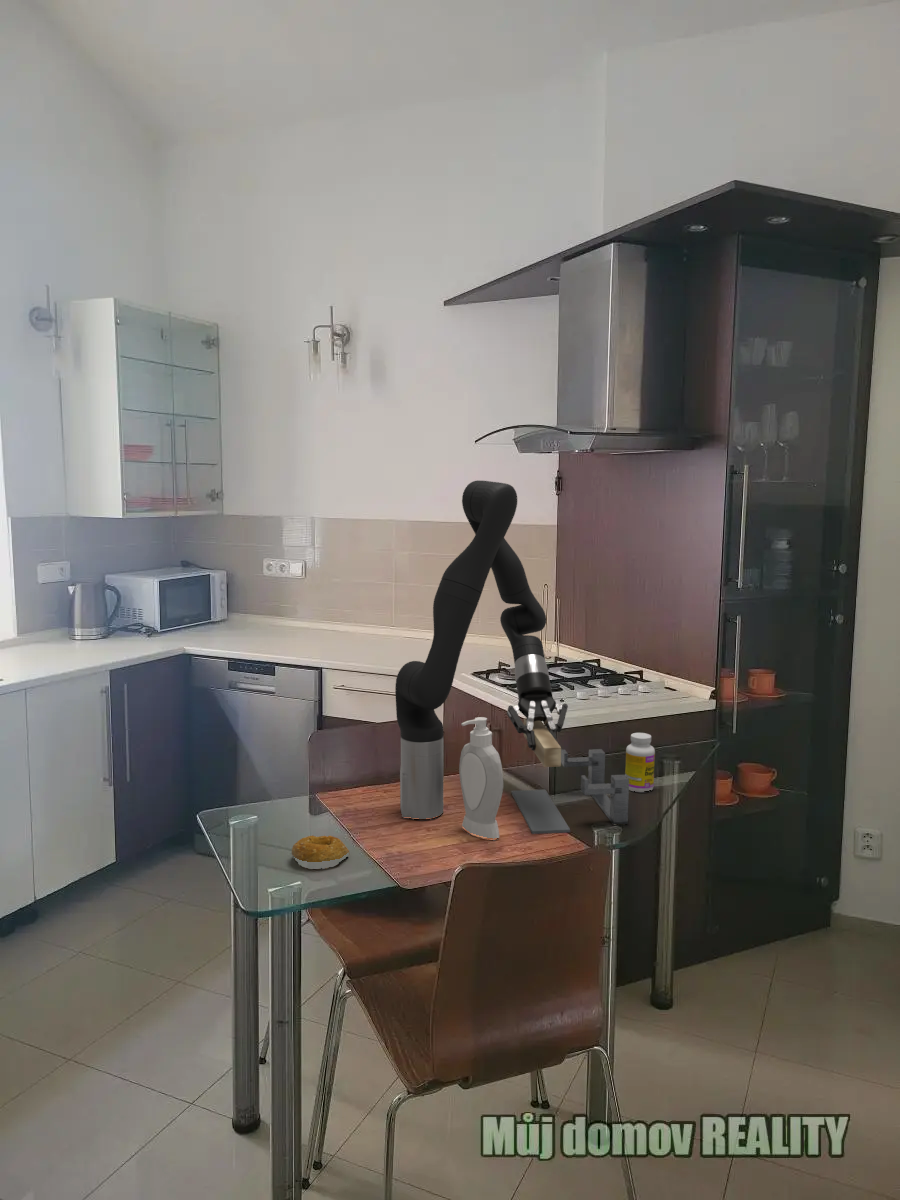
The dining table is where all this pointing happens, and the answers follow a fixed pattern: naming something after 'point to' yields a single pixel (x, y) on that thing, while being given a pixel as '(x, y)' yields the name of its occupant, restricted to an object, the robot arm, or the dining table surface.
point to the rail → (545, 745)
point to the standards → (602, 785)
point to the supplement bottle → (640, 763)
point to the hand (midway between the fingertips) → (543, 748)
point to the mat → (540, 812)
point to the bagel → (319, 849)
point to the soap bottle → (481, 781)
